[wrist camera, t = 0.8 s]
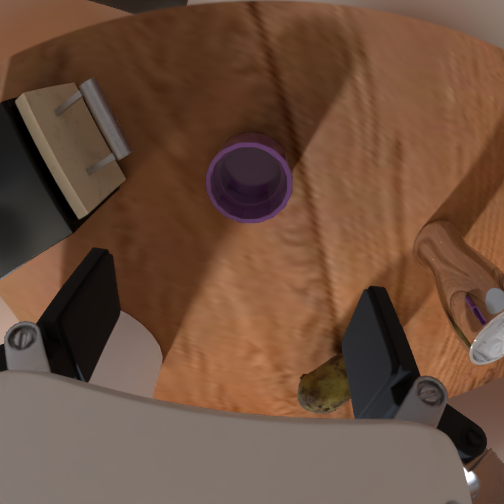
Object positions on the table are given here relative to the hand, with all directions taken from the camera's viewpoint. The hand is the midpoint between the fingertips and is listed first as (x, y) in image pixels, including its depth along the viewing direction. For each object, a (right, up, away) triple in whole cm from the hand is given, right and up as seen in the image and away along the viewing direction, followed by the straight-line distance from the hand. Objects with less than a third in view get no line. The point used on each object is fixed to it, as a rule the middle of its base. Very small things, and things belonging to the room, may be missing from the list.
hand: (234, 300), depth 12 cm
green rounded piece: (+13, -12, +30) cm, 35 cm away
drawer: (-18, +12, +16) cm, 26 cm away
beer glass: (+21, +3, +20) cm, 30 cm away
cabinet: (-22, +11, +18) cm, 30 cm away
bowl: (+1, +9, +17) cm, 20 cm away
